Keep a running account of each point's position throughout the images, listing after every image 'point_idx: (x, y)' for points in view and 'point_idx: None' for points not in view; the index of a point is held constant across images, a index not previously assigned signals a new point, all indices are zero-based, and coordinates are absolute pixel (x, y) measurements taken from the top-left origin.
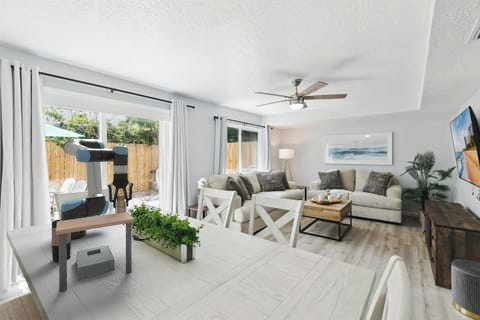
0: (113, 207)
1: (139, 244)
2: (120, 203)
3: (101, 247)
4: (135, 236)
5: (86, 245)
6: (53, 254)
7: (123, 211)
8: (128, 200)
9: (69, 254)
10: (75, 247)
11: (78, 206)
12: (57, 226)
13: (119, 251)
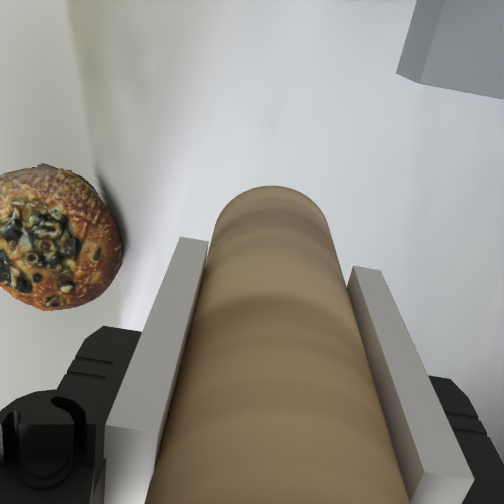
0: (467, 397)
1: (120, 88)
2: (332, 400)
3: (491, 64)
4: (106, 240)
5: (425, 355)
6: None
7: (241, 252)
8: (6, 436)
9: None
10: (486, 368)
11: None
12: None
13: (308, 60)
